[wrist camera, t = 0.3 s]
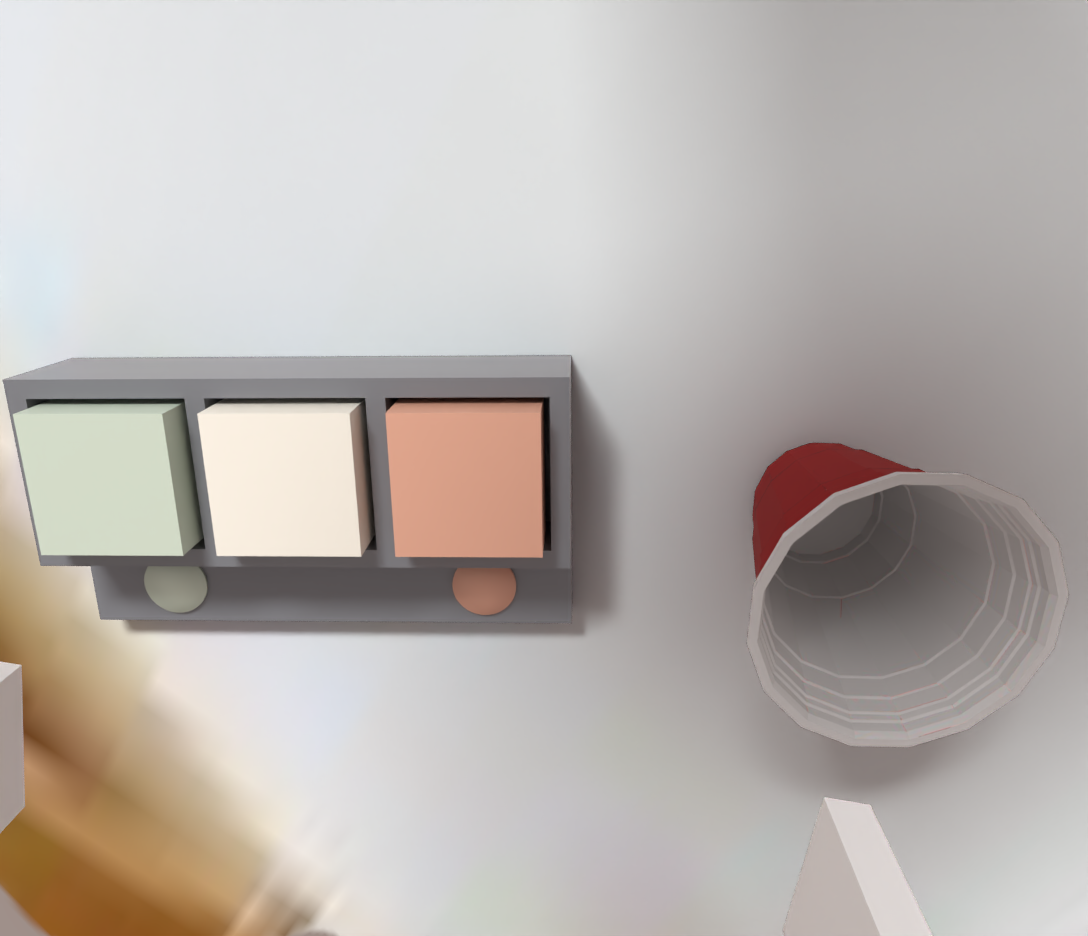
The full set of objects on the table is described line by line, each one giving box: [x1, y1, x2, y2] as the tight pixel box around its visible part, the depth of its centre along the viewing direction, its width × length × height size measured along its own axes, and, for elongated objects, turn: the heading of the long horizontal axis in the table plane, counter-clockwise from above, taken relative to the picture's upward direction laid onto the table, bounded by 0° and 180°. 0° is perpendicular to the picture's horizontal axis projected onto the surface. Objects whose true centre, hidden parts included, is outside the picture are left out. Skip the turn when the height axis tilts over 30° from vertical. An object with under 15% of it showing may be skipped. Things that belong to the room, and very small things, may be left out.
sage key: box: [13, 398, 204, 556], centre depth 36 cm, size 6×6×3 cm
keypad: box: [3, 355, 572, 623], centre depth 39 cm, size 13×23×5 cm, turn 91°
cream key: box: [197, 398, 376, 557], centre depth 36 cm, size 6×6×3 cm
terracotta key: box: [385, 397, 546, 558], centre depth 35 cm, size 6×6×3 cm
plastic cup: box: [747, 443, 1069, 747], centre depth 35 cm, size 11×11×12 cm
